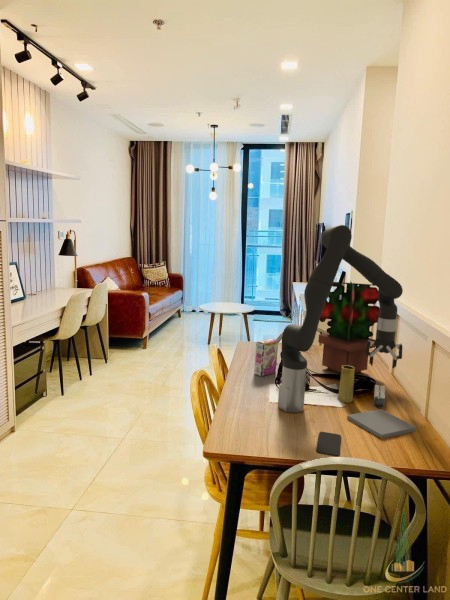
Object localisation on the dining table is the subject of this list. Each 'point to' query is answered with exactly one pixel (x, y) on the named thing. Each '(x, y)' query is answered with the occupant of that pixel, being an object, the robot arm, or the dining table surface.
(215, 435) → the dining table surface
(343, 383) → the vase
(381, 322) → the robot arm
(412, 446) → the dining table surface
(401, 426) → the charcoal board
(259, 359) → the candy bar box
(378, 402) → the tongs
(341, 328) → the potted plant
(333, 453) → the phone
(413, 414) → the dining table surface
